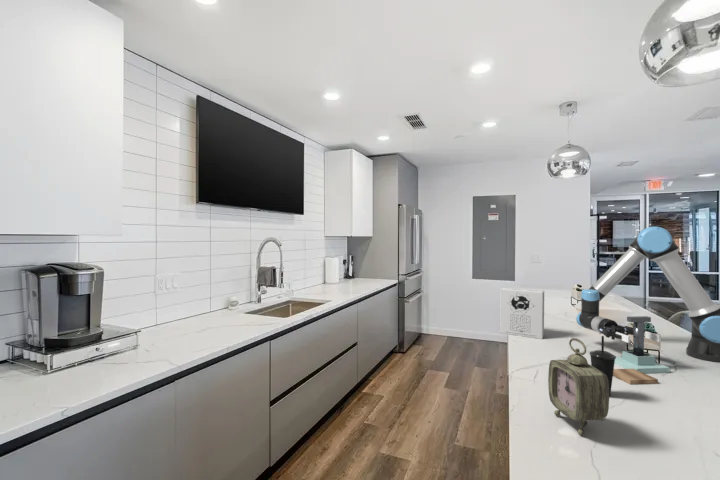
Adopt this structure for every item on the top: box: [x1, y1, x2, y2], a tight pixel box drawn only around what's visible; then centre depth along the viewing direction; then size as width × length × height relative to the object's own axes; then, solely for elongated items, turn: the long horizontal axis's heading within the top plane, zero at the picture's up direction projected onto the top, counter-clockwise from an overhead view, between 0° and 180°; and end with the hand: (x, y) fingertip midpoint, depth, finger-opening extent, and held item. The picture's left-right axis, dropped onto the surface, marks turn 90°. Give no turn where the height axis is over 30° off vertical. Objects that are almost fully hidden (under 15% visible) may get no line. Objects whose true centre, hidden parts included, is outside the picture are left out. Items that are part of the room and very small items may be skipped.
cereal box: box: [499, 287, 545, 340], centre depth 200 cm, size 22×8×25 cm, turn 58°
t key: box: [626, 315, 652, 356], centre depth 151 cm, size 9×5×19 cm, turn 95°
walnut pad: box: [613, 368, 659, 385], centre depth 139 cm, size 11×11×2 cm
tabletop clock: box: [547, 337, 610, 437], centre depth 104 cm, size 14×9×25 cm, turn 4°
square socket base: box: [614, 350, 670, 374], centre depth 151 cm, size 14×14×6 cm
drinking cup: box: [589, 335, 617, 397], centre depth 125 cm, size 8×8×20 cm
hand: (644, 339), depth 148 cm, fingers open, 13 cm apart
